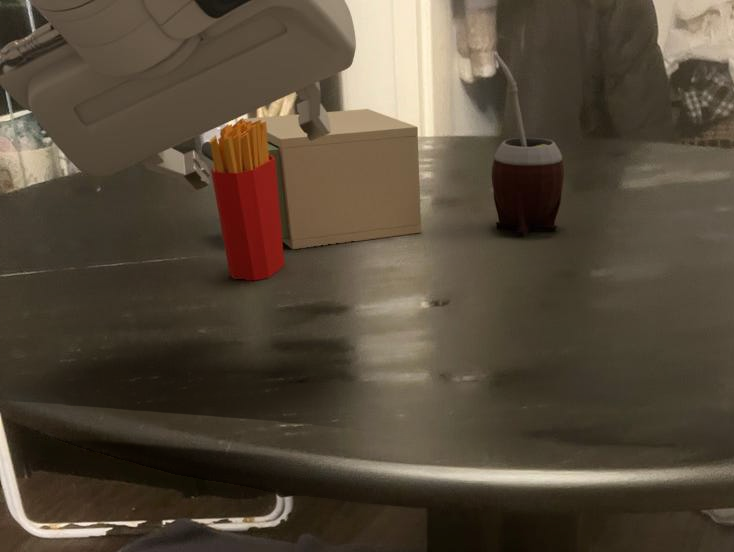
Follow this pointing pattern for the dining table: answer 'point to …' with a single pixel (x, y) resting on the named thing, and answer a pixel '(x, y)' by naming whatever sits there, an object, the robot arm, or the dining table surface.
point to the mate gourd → (526, 177)
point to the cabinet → (348, 178)
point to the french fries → (247, 200)
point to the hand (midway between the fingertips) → (259, 156)
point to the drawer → (275, 153)
